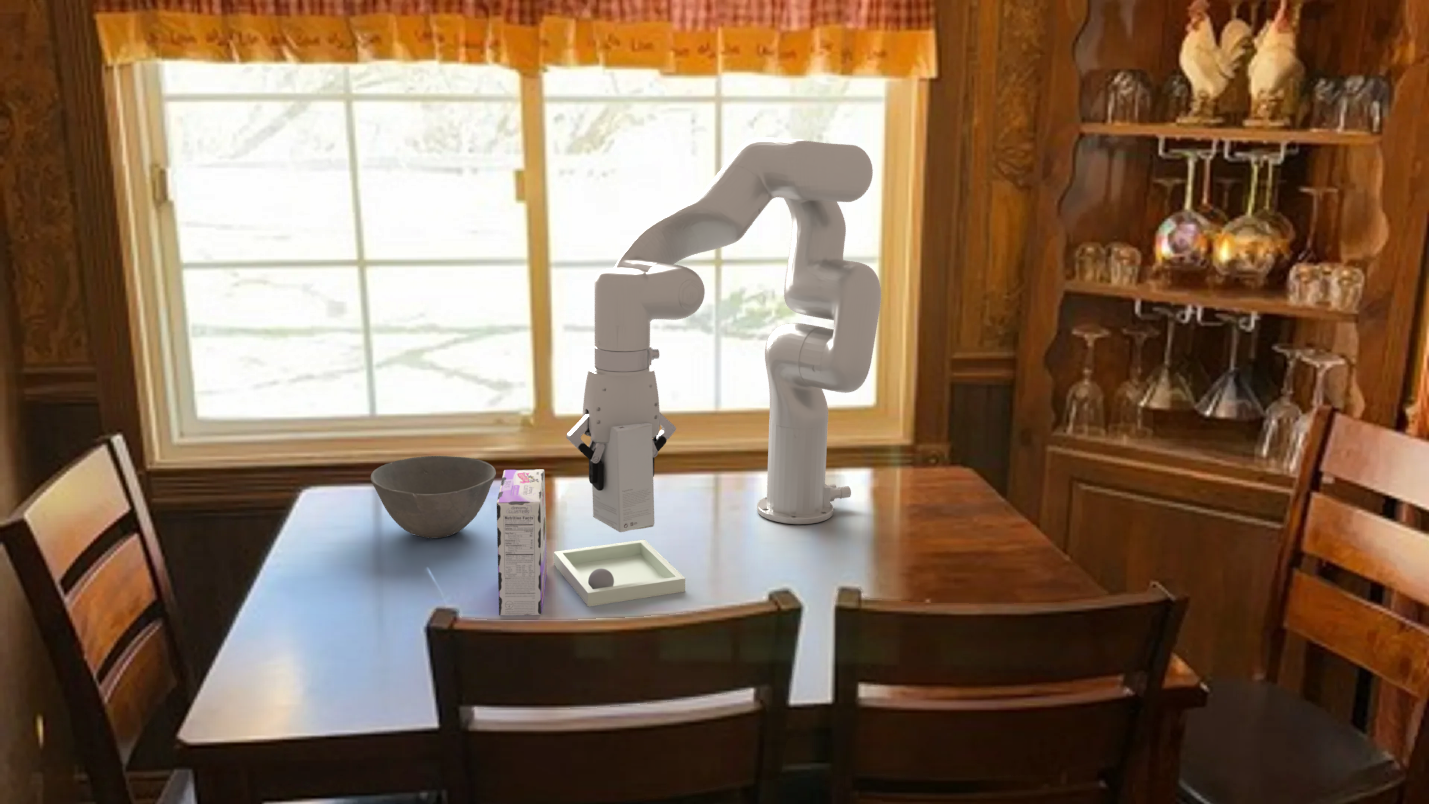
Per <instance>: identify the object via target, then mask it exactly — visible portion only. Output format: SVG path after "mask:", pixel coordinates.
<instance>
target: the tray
mask: <svg viewBox="0 0 1429 804" xmlns="http://www.w3.org/2000/svg"><path fill="white" fill-rule="evenodd" d="M553 565H554V566H555V567H556V569H557V571H558V572H560V574H561V575H562V576H563V577H564V579H565V580H566V581H567V583H568V584H569V585H570V586H571V588H573V590H574V591H575V592H576V594H577V595H578V596H579V597H580V599H582V601H583V603H584V604H585V605H586V606H587V607H594V606H595V607H596V606H601V605H607V604H614V603H619V602H620V603H621V602H626V601H634V600H640V599H646V598H652V597H659V596H665V595H670V594H671V595H672V594H677V593H685V592H686V577H684V575H682V573H681V572H680V571H679V570H677V569H676V568H675V567H674V566H673V565H672V564H671V563H670V562H669V561H668V560H667V559H666V558H665V557H664V556H662V555H661V553H659V552H658V550H656V549H655V548H654V547H653V546H652V545H651V544H650V543H649V542H648V541H647V540H646V539H639V540H638V539H637V540H630V541H624V542H617V543H608V544H603V545H593V546H587V547H577V548H571V549H565V550H564V549H563V550H558V551H553ZM600 568H602V569H606V570H608V571H610V572H611V574H612V575H613V578H614V585H613V586H611V587H604V588H598V589H592V588H591V586H590V585H589V584H588V579H589V576H590V574H591V573H592V572H593V571H594V570H596V569H600Z"/></svg>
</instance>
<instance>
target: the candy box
mask: <svg viewBox="0 0 1429 804" xmlns="http://www.w3.org/2000/svg"><path fill="white" fill-rule="evenodd" d="M545 477H546V475H545V469H540V468H539V469H533V468H532V469H529V468H528V469H504V470H503V473H502V477H501V483H500V485H499V486H500V487H499V491H498V495H497V501H496V522H497V523H496V532H497V535H496V538H497V542H496V543H497V545H496V546H497V575H498V576H497V584H498V587H497V589H498V591H497V593H498V615H499V616H538V615H542V614H543V613H542V612H543V605H544V599H545V591H546V581H547V576H548V574H547V573H548V572H547V570H548V569H547V568H548V566H547V563H548V562H547V560H548V559H547V524H546V523H547V517H546V514H547V512H546V508H547V507H546V480H545V479H546V478H545Z"/></svg>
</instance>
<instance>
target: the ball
mask: <svg viewBox="0 0 1429 804" xmlns="http://www.w3.org/2000/svg"><path fill="white" fill-rule="evenodd" d="M588 584H589V585H590V586H591V588H592V589H598V588H604V587H611V586H613V585H614V578H613V575H612V574H611V572H610V571H608V570H606V569H602V568H600V569H596V570H594V571H593V572H592V573H591V574H590V576H589V579H588Z"/></svg>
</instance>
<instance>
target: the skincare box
mask: <svg viewBox="0 0 1429 804" xmlns="http://www.w3.org/2000/svg"><path fill="white" fill-rule="evenodd" d="M652 439H653V438H652V424H650V423H641V424H632V425H623V426H615V427H612V428H611V432H610V441H609V443H607V444H606V447H605V449H604V451H603V454H602V456H601V462H602V463H603V464H604V489H603V490H601V491H598V490H597V489H596V488H595V487H594V486H593V485H592V484H591V486H592V488H591V489H592V513H593V514H592V517H593V518H595V520H597V521H599V522H601V523H603V524H605V525H606V526H607V527H609V528H612V529H613V530H615V531H617V532H619V533H624V532H628V531H634V530H641V529H648V528H653V527H654V526H655V495H654V490H655V489H654V477H653V450H652Z"/></svg>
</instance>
